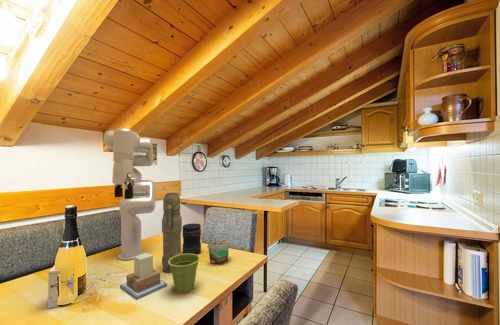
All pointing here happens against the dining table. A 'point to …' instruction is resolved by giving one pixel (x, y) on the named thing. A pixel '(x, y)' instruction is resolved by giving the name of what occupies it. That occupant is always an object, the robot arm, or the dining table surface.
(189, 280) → the plant pot
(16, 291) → the dining table surface
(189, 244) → the storage jar
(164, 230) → the thermos
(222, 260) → the food container
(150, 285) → the walnut plinth
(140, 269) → the sage pillar block
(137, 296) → the blueprint mat
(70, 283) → the supplement box
